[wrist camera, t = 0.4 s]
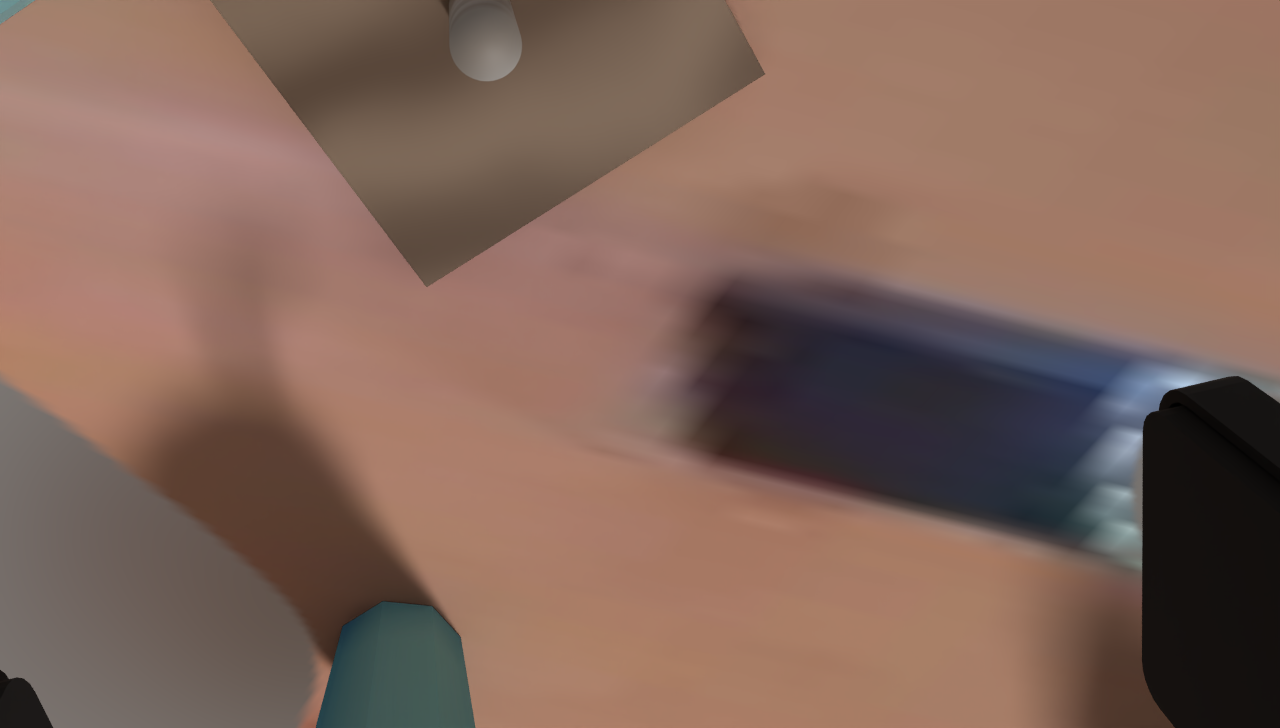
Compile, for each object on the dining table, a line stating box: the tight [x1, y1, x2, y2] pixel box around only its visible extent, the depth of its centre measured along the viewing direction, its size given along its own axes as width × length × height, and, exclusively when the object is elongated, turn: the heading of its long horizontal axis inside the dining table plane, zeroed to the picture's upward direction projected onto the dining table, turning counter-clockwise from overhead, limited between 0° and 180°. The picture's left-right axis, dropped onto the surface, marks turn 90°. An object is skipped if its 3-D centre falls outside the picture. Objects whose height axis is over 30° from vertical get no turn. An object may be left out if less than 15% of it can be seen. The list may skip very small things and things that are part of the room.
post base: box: [210, 0, 765, 287], centre depth 37 cm, size 14×14×8 cm
